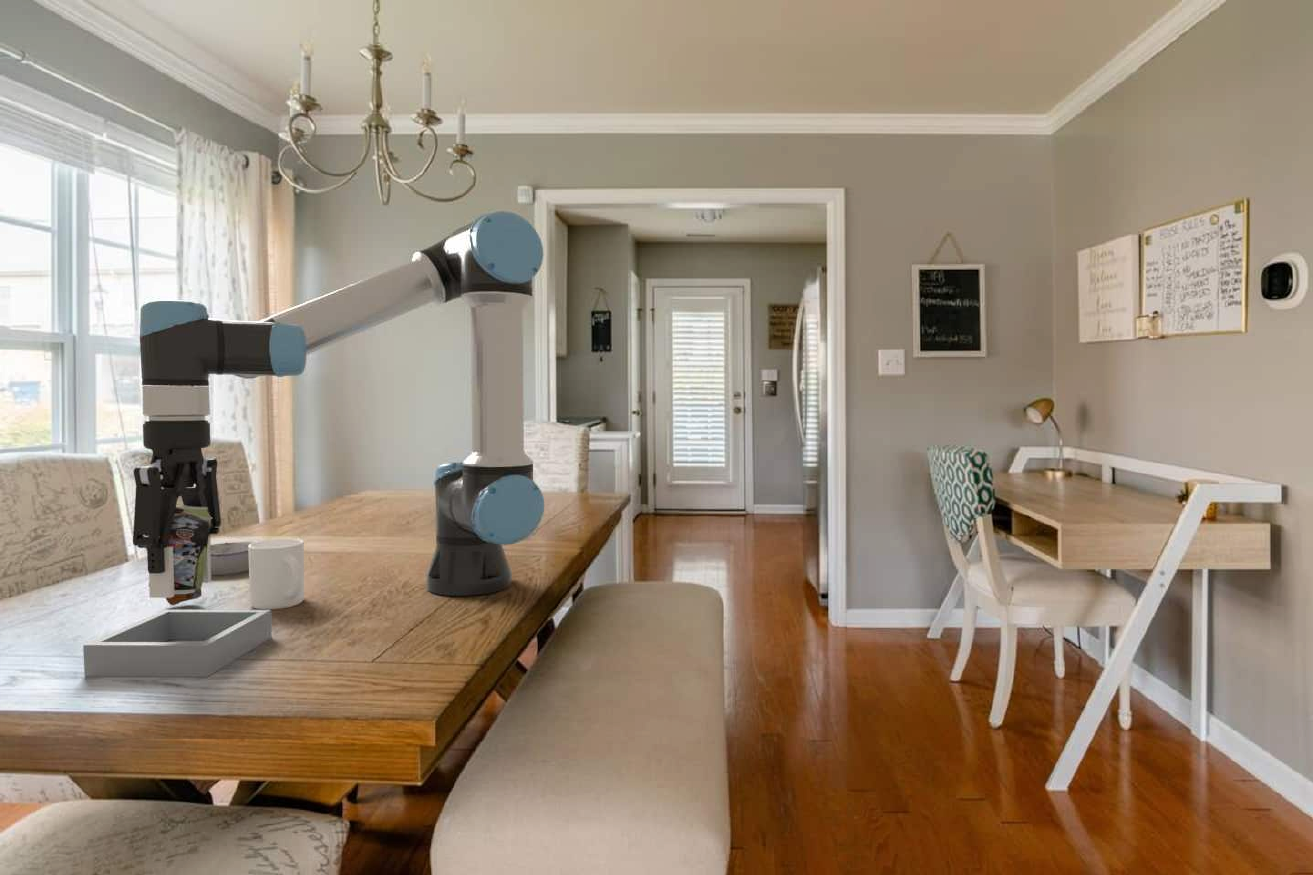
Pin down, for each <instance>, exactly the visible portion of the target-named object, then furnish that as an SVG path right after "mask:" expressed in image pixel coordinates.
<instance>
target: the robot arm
mask: <svg viewBox="0 0 1313 875" xmlns="http://www.w3.org/2000/svg"><path fill="white" fill-rule="evenodd" d="M542 243H543V242H542V240H541V237H540V235H539V233H538V232H537V229H536V228H534V227H533V225H532V224H531V223H530V222H529V221H528V220H527V219H525V218H524V217H522V216H521V215H518V214H517V213H514V212H511V211H504V210H503V211H502V210H501V211H495V212H489V213H485V214H482V215H480V216H479V217H478V218H476V219H475V220H474V221H472V222H470V223H468V224H466V225H463V226H461V227H460V228H458V229H456V230H455V231H454V232H452V233H451V234H449V235H447V236H445V237H444V238H443V239H442V240H440V241H437V242H436V243H435V244H433V245H431V246H429V247H427V248H424V249H422V250H419V251H417V252H415V253H414V254H413V257H412V260H411V261H409V262H406V263H403V264H401V265H398V266H394V267H393V268H390V269H387V270H385V271H383V272H380V273H377V274H375V275H372V276H370V277H367V278H364V279H362V280H360V281H358V282H354V283H353V284H350V285H348V286H345V287H342V288H340V289H337V290H335V291H333V292H330V293H328V294H325V295H322V296H320V297H317V298H314V299H312V300H309V301H306V302H304V303H302V304H299V305H296V306H294V307H291V308H289V309H286V310H284V311H281V312H279V313H277V314H274V315H271V316H269V317H266V318H263V319H261V320H259V321H254V320H253V321H250V320H249V321H247V320H246V321H245V320H243V321H242V320H227V319H223V320H221V319H219V318H218V319H216V318H212V317H211V318H210V316H209V314H208V309H207V307H206V305H204V304H203V303H201V302H196V301H185V300H177V299H154V300H153V299H152V300H148V301H146V302H144V303H143V305H142V306H141V307H140V316H139V318H140V319H139V320H140V323H139V346H140V347H139V348H140V367H141V370H140V371H141V373H140V374H141V385H142V389H141V390H142V415H143V416H144V417H148V420H145V421H144V423H142V438H143V440H142V444H143V447H144V448H145V449H148V450H151V451H152V456H151V459H150V462H149V463H150V464H148V465H147V466H136V467H134V468H133V477H134V483H135V499H134V515H133V534H132V535H133V536H132V544H133V545H134V546H136V547H138V548H139V549H146V551H147V553H146V554H147V555H146V558H147V559H146V560H147V561H146V562H147V572H148V587H149V590H148V591H149V598H152V599H153V598H157V599H158V598H159V599H161V598H162V599H164V598H165V599H166V598H171V597H174V565H173V547H168V546H167V545H168V542H169V537H170V532H171V527H172V523H173V518H174V513H175V509H176V505H178V504H177V503H178V498H180V497H181V501H182V505H187V506H196V507H202V506H203V507H208V509H207V511H208V513H209V514H210V516H211V523H210V530H209V538H208V545H207V552H206V560H205V567H204V574H203V581H202V584H203V583H210V582H212V575H211V557H210V553H211V546H210V545H211V535H217V534H218V533H219V531H220V527H221V524H222V518H221V510H220V501H219V499H220V498H219V491H218V483H217V482H218V481H217V479H218V478H217V473H218V472H217V470H218V459H216V458H204V454H203V451H202V449H204V448H208V447H210V445H211V422H209V420H208V419H206V417H208V416H209V415H210V414H211V405H210V402H211V401H210V400H211V399H210V382H209V377H210V375H217V376H218V375H220V376H221V375H227V376H228V375H231V376H235V377H239V378H243V379H249V380H250V379H254V378H257V377H264V376H265V377H267V376H268V377H278V378H283V377H297V376H300V375H302V374H303V373H304V370H305V368H306V365H307V356H308V355H310V354H312V353H316V352H318V351H320V350H322V349H324V348H327V347H329V346H333V345H334V344H337V343H340V342H341V341H343V340H346V339H348V338H352V336H355V335H358V334H361V333H362V332H365V331H367V330H370V329H371V328H372V329H373V328H374V327H377V326H380V325H381V324H384V323H386V322H388V321H391V320H393V319H395V318H398V317H400V316H402V315H405V314H408V313H409V312H412V311H414V310H417V309H419V308H421V307H425V305H428V304H430V303H434V304H436V305H443V304H445V303H447V302H450V301H453V300H456V299H459V298H460V299H462V300H463V301H464V302H465V303H466V304H467V305H468V307H469V309H470V376H471V378H470V380H471V381H470V384H471V385H470V387H471V388H470V389H471V390H470V391H471V392H470V393H471V402H470V404H471V451H470V454H469V455H468V456H467V457H466V458H465V459H464V460H463V461H458V462H457V461H456V462H445V463H442V464H439V465H438V466H437V467H436V469H435V479H434V480H433V481H434V482H433V485H434V493H435V494H434V495H435V544H436V545H435V550H434V552H433V556H432V558H431V562H430V566H429V568H428V572H427V575H426V589H427V591H429V592H430V593H432V594H436V595H441V596H452V597H453V596H454V597H467V596H468V597H469V596H479V595H488V594H493V593H496V592H500V591H502V590H503V591H504V590H505V589H507V588H509V587H510V586H511V585H512V571H511V567H510V565H509V561H508V559H507V557H506V553H505V551H504V548H503V546H504V545H506V546H507V545H514V544H517V543H520V542H522V541H524V540H526V539H527V538H528V537H530V536H531V534H533V533H534V531H535V530H537V528H538V526H539V525H540V524H541V521H542V519H543V515H544V513H545V512H544V511H545V499H544V495H543V493H542V490H541V489H540V487H539V486H538V484H537V483H536V482H535V481H534V460H532V459H531V457H530V456H529V455H528V454H526V452H525V448H524V447H525V442H524V441H525V433H524V432H525V429H524V426H525V421H524V419H525V418H524V417H525V416H524V415H525V413H524V408H525V407H524V402H525V401H524V399H525V398H524V395H525V394H524V388H525V387H524V384H525V383H524V310H525V308H526V307H527V305H528V304H530V302H532V300H533V278H534V277H535V276H536V275H537V274H538V272H539V271H540V269H541V267H542V264H543V260H544V246H543V244H542ZM159 537H160V538H159Z"/></svg>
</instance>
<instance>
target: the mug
mask: <svg viewBox="0 0 1313 875" xmlns="http://www.w3.org/2000/svg"><path fill="white" fill-rule="evenodd" d="M254 542H255V541H254ZM304 547H305V546H304V540H303V539H297V538H274V539H265V540H260V541H256V542H255V543H252V544H250V545H249V546H248V552H249V570H248V579H249V580H248V581H249V602H250V605H251V607H252V608H254V609H255V610H271V611H272V610H281V609H286V608H287V609H288V608H292V607H295V606H297V605H299V604H301V603H302V602H303V601H305V596H306V595H305V594H306V589H305V587H306V586H305V582H306V581H305V555H304V554H305V550H304Z"/></svg>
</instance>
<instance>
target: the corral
mask: <svg viewBox="0 0 1313 875" xmlns="http://www.w3.org/2000/svg"><path fill="white" fill-rule="evenodd" d="M272 635H273V634H272V610H262V609H164V610H161V611H159V612H156V613H154V614H152V615H150V616H148V617H145V618H143V619H141V620H138V621H136V622H133V623H131V624H128V625H126V626H124V627H122V628H120V629H117V630H115V631H112V632H111V633H108V634H106V635H103V636H101V637H99V638H96V639H94V640H92V641H90V642H88V643H84V644H82V645H83V646H82V649H83V650H82V652H83V669H84V670H83V671H84V677H86V678H87V677H88V678H90V677H92V678H93V677H96V678H97V677H98V678H99V677H100V678H101V677H104V678H105V677H108V678H109V677H110V678H111V677H113V678H114V677H115V678H117V677H118V678H119V677H120V678H121V677H126V678H128V677H132V678H137V677H138V678H144V677H145V678H208V677H209V676H211V675H212V674H214V673H216V672H218V671H220V670H221V669H222V668H224V667H226V666H227V665H229V664H231V663H232V662H234V661H235V660H236V659H239V658H240V657H242V656H243V655H245V654H247V653H249V652H250V651H251V650H253V649H255V648H257V647H258V646H260V645H261V644H263V643H264V642H266V641H268V640H269V639H271V638H272V637H273V636H272ZM169 640H172V641H169ZM167 641H169V642H167Z"/></svg>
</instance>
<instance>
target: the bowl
mask: <svg viewBox="0 0 1313 875" xmlns="http://www.w3.org/2000/svg"><path fill="white" fill-rule="evenodd" d="M252 543H255V541H237V542H235V541H234V542H233V541H232V542H222V543H221V542H220V543H214V544H210V546H211V553H210V557H211V576H219V575H220V576H221V575H231V574H232V575H233V574H237V573H242V572H246V571H249V552H248V546H249V545H250V544H252Z"/></svg>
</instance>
